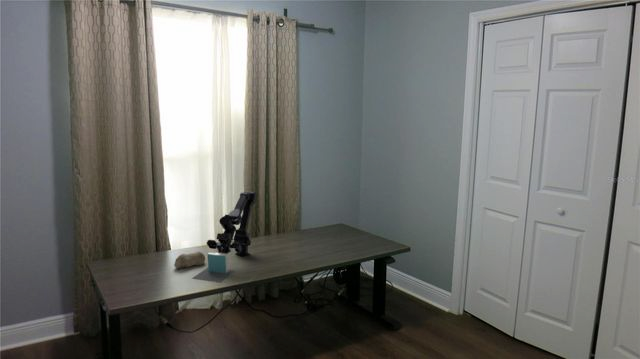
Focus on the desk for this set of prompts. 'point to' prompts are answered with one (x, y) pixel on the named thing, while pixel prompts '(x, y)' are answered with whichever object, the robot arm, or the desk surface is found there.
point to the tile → (217, 262)
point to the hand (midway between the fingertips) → (219, 259)
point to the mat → (213, 276)
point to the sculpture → (189, 260)
